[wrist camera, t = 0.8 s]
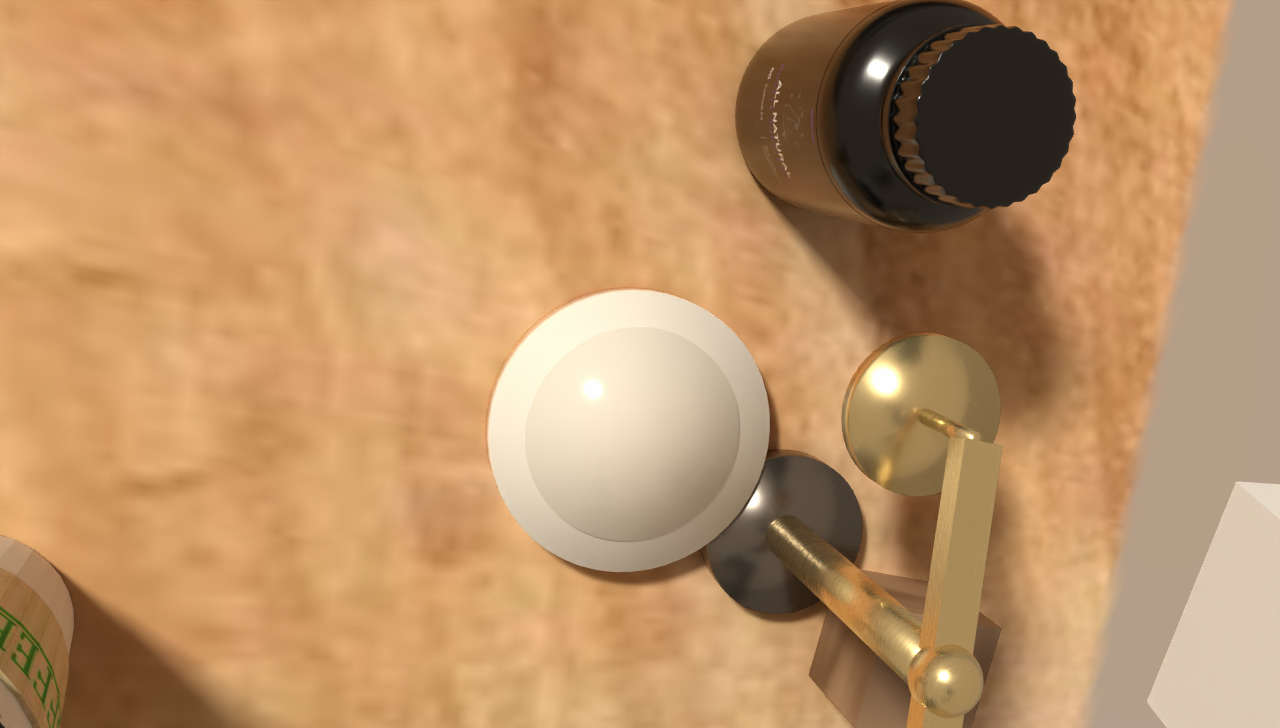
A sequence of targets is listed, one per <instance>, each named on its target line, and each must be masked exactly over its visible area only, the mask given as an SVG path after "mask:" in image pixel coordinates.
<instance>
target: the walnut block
mask: <svg viewBox="0 0 1280 728" xmlns="http://www.w3.org/2000/svg"><path fill="white" fill-rule="evenodd" d="M861 571H862V572H863V573H865V574H866V575H867V576H868V577H869V578H871V579H872V580H873V581H874V582H875V583H876V584H878V585H879V586H880V587H881V588H882V589H884V590H885V591H886V592H887V593H888V594H890V595H891V596H892V597H893V598H894V599H896V600H897V601H898V602H899V603H900V604H902V605H903V606H904V607H905V608H906V609H907V610H909V611H910V612H911V613H912V614H913V615H915V616H916V617H917V618H918V619H919V620H921V621H923V614H924V607H925V601H926V594H927V587H928V582H927V581H921V580H916V579H910V578H905V577H899V576H894V575H888V574H882V573H877V572H871V571H866V570H861ZM1000 631H1001V628H1000V627H999V626H998V625H996V624H995V623H994V622H992V621H991V620H990V619H988V618H987V617H986V616H984V615H983V614H982V613H980V612H979V615H978V622H977V629H976V636H975V643H974V650H973V656H974V657H975V658H976V660H977V662H978V663H979V665H980V667H981V670H982V673H983V687H984V684H985V680H986V677H987V674H988V671H989V667H990V664H991V661H992V658H993V654H994V651H995V648H996V644H997V641H998V638H999V635H1000ZM809 676H810V677H811V678H812V680H813V681H814V682H815V683H816V684H817V685H818V686H819V688H820V689H821V690H822V691H823V692H824V693H825V694H826V696H827V697H828V698H829V699H830V700H831V701H832V702H833V704H834V705H835V706H836V707H837V708H838V709H839V710H840V712H841V713H842V714H843V715H844V716H845V717H846V718H847V720H848V721H849V722H850V723H851V724H852V725H853V726H854V728H907V721H908V714H909V708H910V701H911V692H910V690H909V686H908V684H907V683H906V682H905V681H904V680H903V679H902V678H901V677H900V676H899V675H898V674H896V673H895V672H894V671H893V670H892V669H891V668H890V667H889V666H888V665H887V664H886V663H885V662H884V661H883V660H882V659H881V658H880V657H879V656H878V655H877V654H876V653H875V652H874V651H873V650H872V649H871V648H870V647H869V646H868V645H867V644H866V643H864V642H863V641H862V640H861V639H860V638H859V637H858V636H857V635H856V634H855V633H854V632H853V631H852V630H851V629H850V628H849V627H848V626H847V625H846V624H845V623H844V622H843V621H842V620H841V619H840V618H839V617H838V616H837V615H836V614H835V613H834V612H832V611H831V610H830V609H829V608H828V610H827V613H826V617H825V620H824V624H823V627H822V631H821V634H820V638H819V641H818V645H817V648H816V652H815V655H814V659H813V662H812V666H811V669H810V673H809ZM979 700H980V699H979ZM978 703H979V701H978V702H977V704H976V705H975V706H974V707H973V708H972V709H971V710H970V711H969V712H967V713H965V714H964V719H963V726H962V728H971V726H972V723H973V720H974V716H975V713H976V710H977V707H978Z"/></svg>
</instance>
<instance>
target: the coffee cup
mask: <svg viewBox="0 0 1280 728" xmlns="http://www.w3.org/2000/svg"><path fill="white" fill-rule="evenodd" d="M73 631H74V608H73V605H72V601H71V597H70V594H69V591H68V589H67V587H66V585H65V583H64V582H63V580H62V578H61V576H60V575H59V574H58V572H57V571H56V570H55V569H54V568H53V566H52V565H51V564H50V563H49V562H48V561H47V560H46V559H45V558H43V557H42V556H41V555H40V554H38V553H37V552H36V551H35V550H33V549H31V548H30V547H28V546H26V545H24V544H22V543H20V542H18V541H16V540H14V539H10V538H7V537H4V536H1V535H0V728H59V726H60V721H61V715H62V710H63V705H64V699H65V694H66V688H67V683H68V677H69V660H68V657H69V652H70V648H71V643H72V637H73Z"/></svg>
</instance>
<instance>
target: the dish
mask: <svg viewBox="0 0 1280 728" xmlns="http://www.w3.org/2000/svg"><path fill="white" fill-rule="evenodd" d="M769 433H770V413H769V405H768V399H767V393H766V389H765V386H764V383H763V379H762V376H761V374H760V372H759V369H758V367H757V365H756V363H755V361H754V359H753V357H752V356H751V354H750V352H749V351H748V349H747V348H746V346H745V345H744V343H743V342H742V341H741V340H740V339H739V337H738V336H737V335H736V334H735V333H734V332H733V331H732V330H731V329H730V328H729V327H728V326H727V325H726V324H725V323H724V322H722V321H721V320H720V319H719V318H717V317H716V316H714V315H713V314H711V313H710V312H708V311H707V310H705V309H703V308H701V307H699V306H697V305H695V304H693V303H691V302H689V301H687V300H685V299H683V298H681V297H678V296H675V295H672V294H669V293H667V292H664V291H658V290H653V289H648V288H633V287H624V288H612V289H606V290H601V291H597V292H592V293H589V294H586V295H583V296H581V297H578V298H575V299H573V300H571V301H569V302H567V303H565V304H563V305H561V306H559V307H557V308H556V309H554V310H553V311H551V312H550V313H548V314H547V315H545V316H544V317H542V318H541V319H540V320H539V321H538V322H537V323H535V324H534V325H533V326H532V327H531V328H530V329H529V330H528V331H527V332H526V333H525V334H524V335H523V336H522V337H521V339H520V340H519V341H518V342H517V343H516V344H515V346H514V347H513V349H512V350H511V352H510V353H509V355H508V356H507V358H506V359H505V361H504V363H503V365H502V367H501V369H500V371H499V373H498V375H497V377H496V379H495V382H494V385H493V388H492V391H491V394H490V398H489V403H488V408H487V413H486V428H485V437H486V450H487V455H488V460H489V464H490V469H491V472H492V474H493V477H494V480H495V483H496V485H497V488H498V490H499V492H500V494H501V496H502V498H503V500H504V502H505V504H506V506H507V507H508V509H509V511H510V513H511V514H512V515H513V517H514V518H515V519H516V521H517V522H518V524H519V525H520V526H521V527H522V528H523V529H524V530H525V531H526V532H527V533H528V535H529V536H530V537H531V538H532V539H534V540H535V541H536V542H537V543H539V544H540V545H541V546H543V547H544V548H545V549H546V550H548V551H550V552H551V553H553V554H555V555H557V556H558V557H560V558H562V559H564V560H567V561H569V562H572V563H574V564H576V565H579V566H583V567H587V568H591V569H594V570H601V571H609V572H634V571H642V570H649V569H653V568H657V567H660V566H664V565H668V564H670V563H673V562H675V561H677V560H680V559H682V558H685V557H686V556H688V555H690V554H692V553H694V552H695V551H697V550H699V549H701V548H702V547H703V546H705V545H706V544H708V543H709V542H710V541H712V540H713V539H714V538H716V537H717V536H718V535H719V534H720V533H721V532H722V531H723V530H724V529H725V528H726V527H727V526H728V525H729V524H730V523H731V522H732V521H733V520H734V518H735V517H736V516H737V515H738V514H739V513H740V511H741V510H742V508H743V507H744V505H745V504H746V502H747V501H748V499H749V498H750V496H751V494H752V492H753V490H754V488H755V486H756V484H757V482H758V480H759V477H760V474H761V471H762V469H763V466H764V462H765V458H766V454H767V449H768V443H769Z"/></svg>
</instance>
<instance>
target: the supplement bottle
mask: <svg viewBox="0 0 1280 728" xmlns="http://www.w3.org/2000/svg"><path fill="white" fill-rule="evenodd" d="M1072 91H1073V82H1072V80H1071V79H1070V78H1069V77H1068V74H1067V67H1066V66H1065V65H1064V64H1063V63H1062V62H1061V61H1060V60H1059V56H1058V54H1057V52H1055V51H1054V50H1051V49H1050V48H1049V46H1048V44H1047V43H1046V41H1044V40H1041V39H1037V38H1036V36H1035V35H1034V34H1033V33H1032V32H1029V31H1022V30H1021V29H1020V28H1018V27H1016V26H1008V27H1006V26H1005V25H1004V24H1003V23H1001V22H1000V21H999V20H998V19H997V18H996V17H994V16H993V15H992V14H990V13H989V12H988V11H986V10H984V9H982V8H981V7H979V6H977V5H974V4H972V3H970V2H967V1H964V0H894V1H888V2H883V3H877V4H872V5H866V6H861V7H855V8H850V9H844V10H838V11H833V12H827V13H822V14H818V15H814V16H810V17H806V18H803V19H801V20H798V21H796V22H793V23H791V24H789V25H787V26H786V27H784V28H782V29H781V30H779V31H778V32H777V33H775V34H774V35H773V36H772V37H770V38H769V39H768V40H767V41H766V42H765V43H764V44H763V45H762V46H761V48H760V49H759V50H758V51H757V52H756V54H755V55H754V57H753V58H752V60H751V62H750V63H749V65H748V67H747V69H746V71H745V73H744V75H743V78H742V81H741V84H740V87H739V91H738V95H737V101H736V110H735V123H736V132H737V138H738V142H739V146H740V149H741V152H742V154H743V157H744V159H745V161H746V163H747V165H748V167H749V169H750V170H751V172H752V173H753V175H754V176H755V178H756V179H757V180H758V181H759V182H760V183H761V185H762V186H763V187H764V188H766V189H767V190H768V191H769V192H770V193H771V194H773V195H774V196H775V197H777V198H779V199H780V200H782V201H784V202H786V203H788V204H790V205H792V206H794V207H797V208H800V209H803V210H807V211H810V212H815V213H819V214H823V215H828V216H832V217H837V218H841V219H846V220H850V221H855V222H859V223H864V224H868V225H873V226H877V227H882V228H886V229H891V230H895V231H901V232H909V233H935V232H941V231H946V230H950V229H953V228H956V227H959V226H961V225H964V224H966V223H968V222H970V221H972V220H974V219H976V218H978V217H979V216H980V215H982V214H983V213H985V212H986V211H988V210H989V209H993V208H996V207H1008V206H1010V205H1011V204H1012V203H1013V202H1021V201H1023V200H1025V199H1026V197H1027V196H1028V195H1030V194H1034V193H1037V192H1038V190H1039V189H1040V187H1041V186H1042V185H1043V184H1045V183H1047V182H1049V181H1050V179H1051V177H1052V175H1053V173H1054V172H1055V171H1056V170H1058V169H1059V168H1060V166H1061V162H1062V158H1063V157H1064V156H1065V155H1066V154H1067V153H1068V149H1069V142H1070V140H1071V139H1072V137H1073V135H1074V130H1073V125H1074V122H1075V119H1076V113H1075V110H1074V107H1075V102H1076V98H1075V96H1074V94H1073V92H1072Z"/></svg>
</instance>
